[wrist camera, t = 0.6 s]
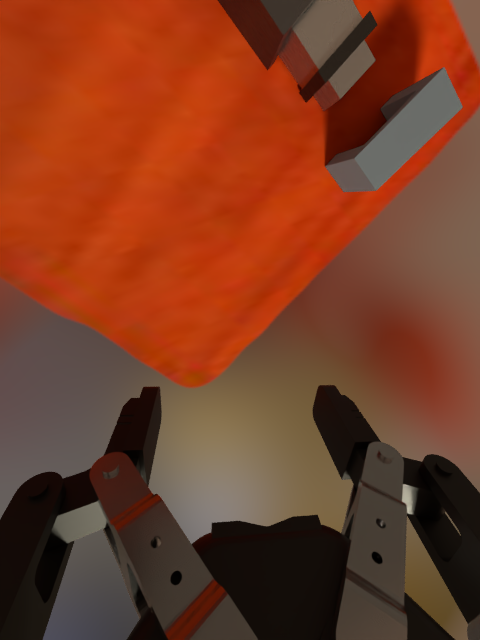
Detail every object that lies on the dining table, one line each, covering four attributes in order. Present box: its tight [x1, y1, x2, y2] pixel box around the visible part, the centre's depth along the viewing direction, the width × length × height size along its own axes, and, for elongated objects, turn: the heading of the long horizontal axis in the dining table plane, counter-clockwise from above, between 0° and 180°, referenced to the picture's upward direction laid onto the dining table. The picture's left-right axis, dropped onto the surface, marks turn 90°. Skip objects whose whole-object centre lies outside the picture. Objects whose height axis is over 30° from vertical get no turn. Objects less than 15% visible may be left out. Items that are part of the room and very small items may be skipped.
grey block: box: [325, 67, 463, 192], centre depth 29 cm, size 4×10×7 cm, turn 135°
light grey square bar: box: [278, 0, 377, 111], centre depth 24 cm, size 17×6×6 cm, turn 45°
